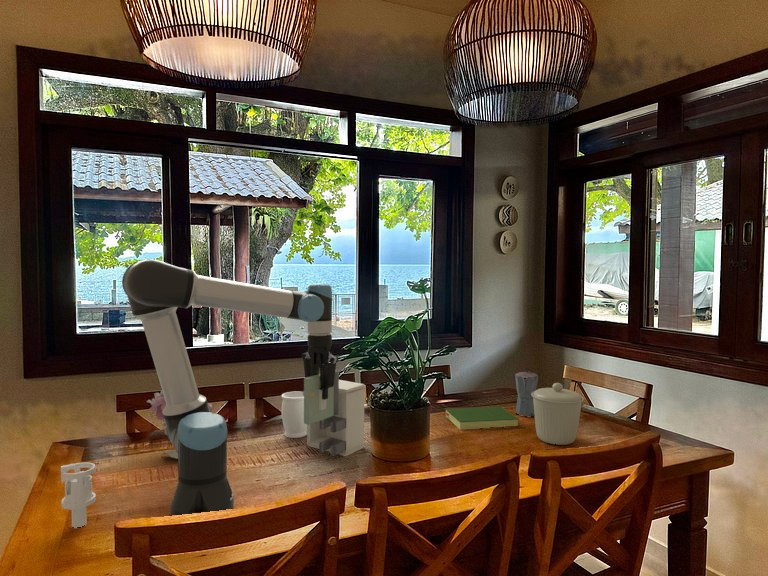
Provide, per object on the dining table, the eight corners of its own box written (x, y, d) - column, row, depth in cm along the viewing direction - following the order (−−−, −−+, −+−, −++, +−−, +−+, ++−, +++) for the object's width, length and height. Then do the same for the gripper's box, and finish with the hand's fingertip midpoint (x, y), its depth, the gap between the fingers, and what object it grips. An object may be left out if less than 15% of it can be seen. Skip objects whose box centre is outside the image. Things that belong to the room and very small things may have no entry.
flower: (238, 447, 172) (223, 375, 179) (178, 461, 153) (163, 380, 160) (202, 462, 181) (188, 393, 188) (141, 476, 163) (128, 399, 170)
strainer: (60, 522, 124) (59, 461, 124) (94, 515, 128) (93, 455, 128) (62, 535, 118) (61, 471, 118) (97, 527, 122) (96, 464, 122)
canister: (519, 436, 192) (521, 380, 191) (555, 429, 200) (557, 375, 199) (556, 452, 176) (558, 391, 175) (593, 444, 184) (595, 386, 183)
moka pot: (513, 418, 215) (514, 370, 214) (514, 408, 230) (516, 363, 229) (537, 420, 212) (538, 372, 211) (537, 410, 227) (538, 365, 226)
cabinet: (334, 462, 165) (334, 393, 164) (294, 450, 174) (295, 385, 173) (364, 447, 178) (364, 384, 177) (325, 437, 187) (326, 377, 186)
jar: (304, 440, 184) (304, 398, 183) (276, 438, 186) (276, 397, 185) (313, 431, 194) (314, 391, 194) (288, 429, 197) (288, 390, 196)
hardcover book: (498, 414, 222) (498, 405, 222) (518, 428, 203) (518, 418, 203) (442, 417, 217) (442, 408, 217) (457, 431, 198) (458, 421, 198)
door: (310, 425, 157) (310, 379, 156) (301, 423, 159) (302, 377, 158) (341, 413, 169) (341, 371, 168) (332, 412, 171) (332, 369, 170)
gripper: (346, 334, 160) (345, 409, 161) (309, 330, 168) (309, 402, 170) (330, 337, 154) (330, 415, 155) (293, 333, 162) (293, 407, 163)
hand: (319, 408), depth 162 cm, fingers closed on door, 2 cm apart
